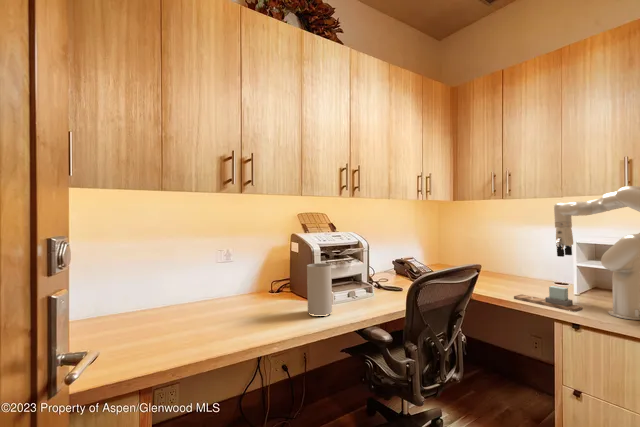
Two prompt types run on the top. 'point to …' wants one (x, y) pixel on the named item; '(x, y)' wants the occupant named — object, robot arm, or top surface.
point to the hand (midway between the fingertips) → (564, 255)
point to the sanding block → (558, 296)
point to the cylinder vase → (319, 288)
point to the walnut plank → (542, 302)
